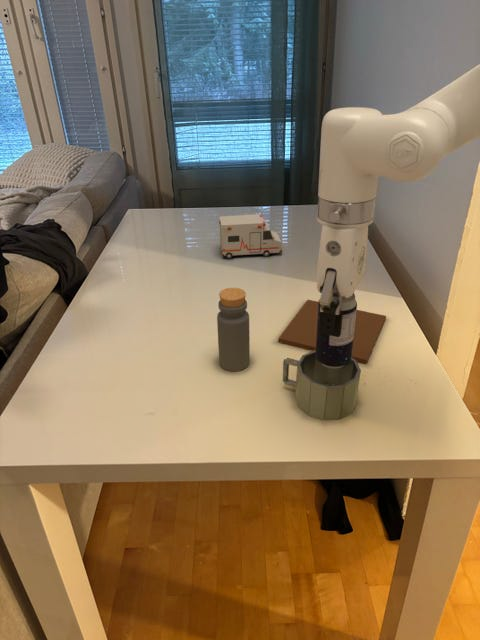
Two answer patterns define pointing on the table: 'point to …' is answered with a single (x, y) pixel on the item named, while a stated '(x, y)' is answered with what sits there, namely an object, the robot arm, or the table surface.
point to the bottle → (233, 330)
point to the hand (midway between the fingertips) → (336, 322)
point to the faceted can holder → (323, 387)
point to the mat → (305, 331)
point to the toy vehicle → (247, 236)
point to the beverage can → (337, 348)
